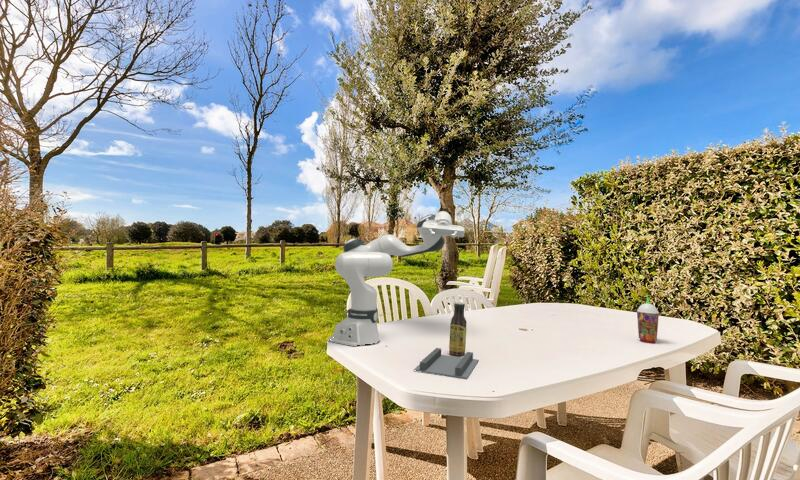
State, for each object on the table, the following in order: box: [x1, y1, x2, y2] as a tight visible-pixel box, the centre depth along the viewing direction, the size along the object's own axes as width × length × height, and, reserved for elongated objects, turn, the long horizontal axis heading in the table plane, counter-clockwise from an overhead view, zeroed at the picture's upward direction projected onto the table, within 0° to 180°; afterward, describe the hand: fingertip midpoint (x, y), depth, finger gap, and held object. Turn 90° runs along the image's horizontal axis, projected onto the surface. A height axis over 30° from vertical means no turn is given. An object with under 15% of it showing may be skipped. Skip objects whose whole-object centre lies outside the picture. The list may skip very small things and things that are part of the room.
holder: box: [413, 347, 480, 380], centre depth 128 cm, size 18×20×3 cm
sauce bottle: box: [448, 302, 467, 357], centre depth 142 cm, size 7×6×20 cm
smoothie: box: [636, 297, 660, 344], centre depth 165 cm, size 8×8×20 cm
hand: (443, 235), depth 167 cm, fingers open, 8 cm apart
